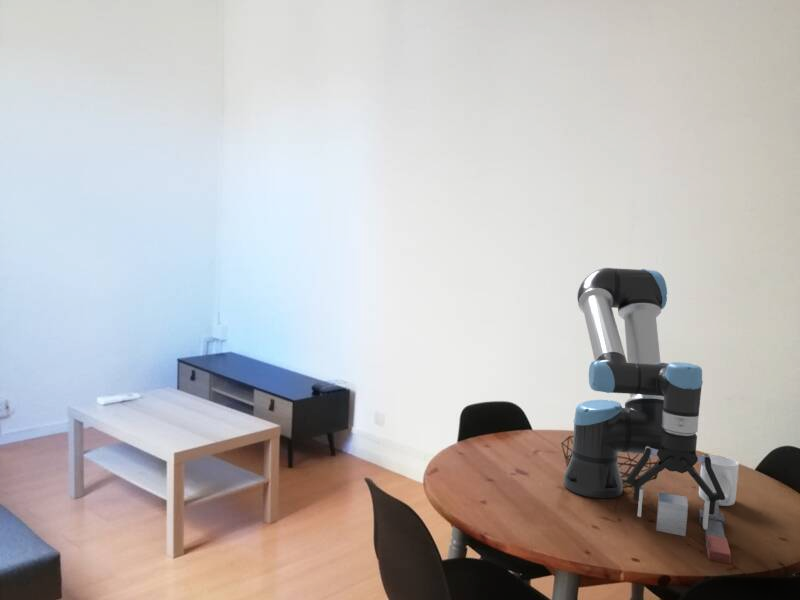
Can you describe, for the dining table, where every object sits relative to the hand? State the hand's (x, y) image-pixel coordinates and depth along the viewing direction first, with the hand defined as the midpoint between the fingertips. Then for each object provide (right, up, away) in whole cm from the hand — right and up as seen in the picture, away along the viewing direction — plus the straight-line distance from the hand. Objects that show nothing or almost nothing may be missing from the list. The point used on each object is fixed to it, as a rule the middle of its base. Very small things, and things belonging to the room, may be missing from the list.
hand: (671, 521), depth 141 cm
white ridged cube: (0, -2, +1) cm, 2 cm away
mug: (+20, -2, +17) cm, 26 cm away
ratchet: (+8, -2, -4) cm, 9 cm away
